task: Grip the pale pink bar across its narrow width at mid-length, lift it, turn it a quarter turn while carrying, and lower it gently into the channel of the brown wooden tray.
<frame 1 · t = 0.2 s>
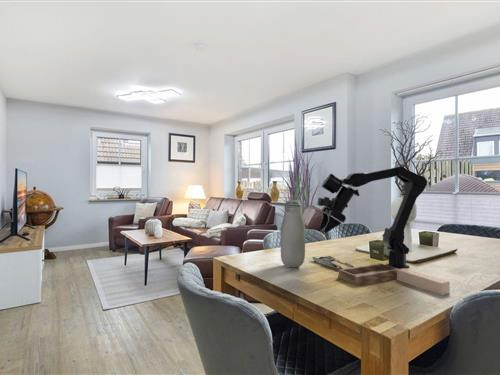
hand: (322, 230, 125), 15 cm above the table, tool tilted 30°, fingers open, 9 cm apart
pale pink bar: (421, 286, 100), on the table
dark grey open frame: (336, 267, 126), on the table
grey vase: (292, 267, 124), on the table
brown wooden tray: (369, 277, 109), on the table
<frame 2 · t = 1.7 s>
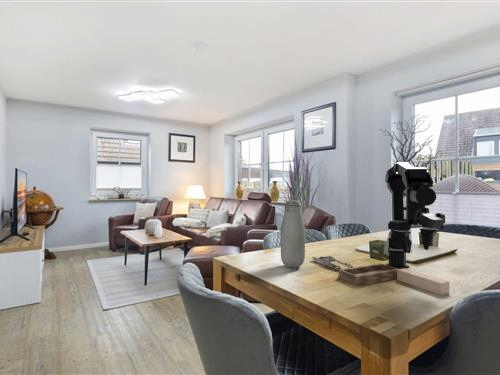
hand: (415, 250, 100), 12 cm above the table, tool pointing down, fingers open, 9 cm apart
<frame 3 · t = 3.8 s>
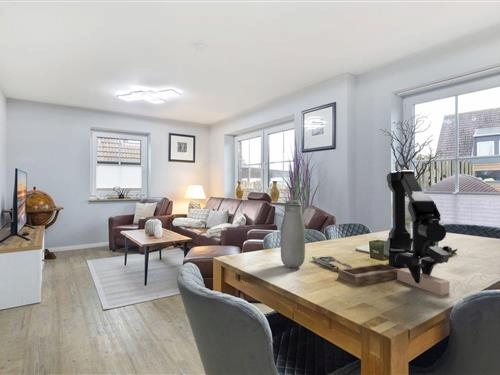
hand: (421, 282, 100), 1 cm above the table, tool pointing down, fingers closed on pale pink bar, 4 cm apart
pale pink bar: (421, 286, 100), on the table, touching gripper
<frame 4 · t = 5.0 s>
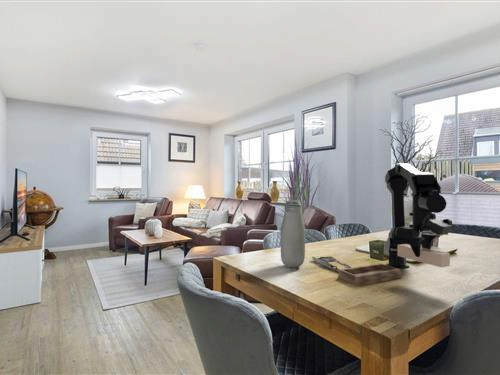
hand: (421, 256, 100), 10 cm above the table, tool pointing down, fingers closed on pale pink bar, 4 cm apart
pale pink bar: (421, 260, 100), point 9 cm above the table, touching gripper
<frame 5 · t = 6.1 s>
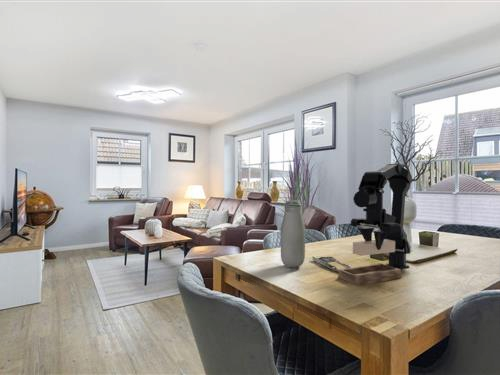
hand: (374, 248, 108), 11 cm above the table, tool pointing down, fingers closed on pale pink bar, 4 cm apart
pale pink bar: (374, 252, 108), point 10 cm above the table, touching gripper
when the fingers open (4 cm above the table, at t = 7.9 s): pale pink bar drops 1 cm, resting on brown wooden tray.
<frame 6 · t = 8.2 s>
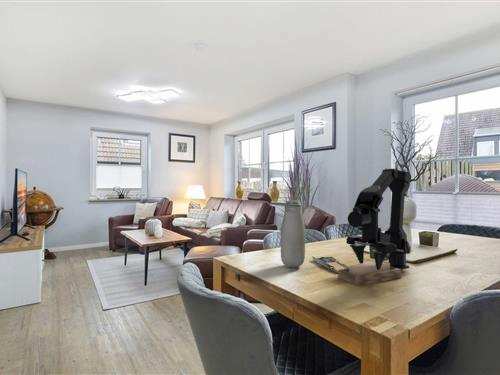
hand: (369, 266, 109), 4 cm above the table, tool pointing down, fingers open, 8 cm apart
pale pink bar: (369, 274, 109), point 1 cm above the table, touching brown wooden tray
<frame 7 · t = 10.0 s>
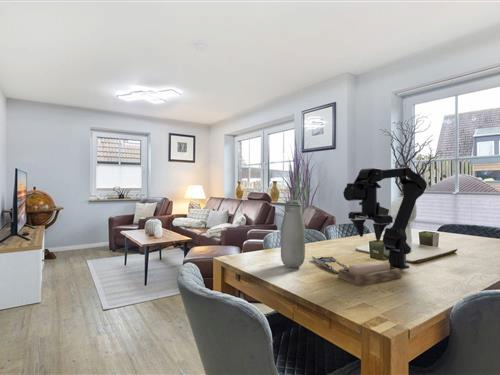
hand: (369, 238, 118), 13 cm above the table, tool pointing down, fingers open, 9 cm apart
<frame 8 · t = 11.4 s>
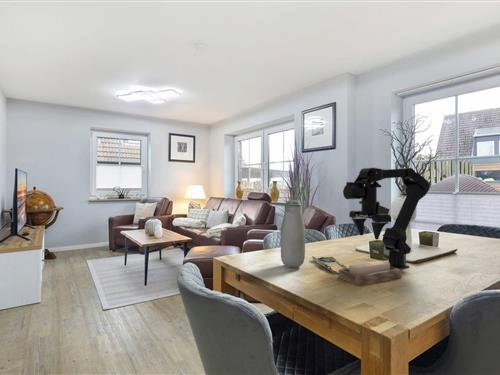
hand: (368, 237, 120), 13 cm above the table, tool pointing down, fingers open, 9 cm apart
at the end: pale pink bar 0.1 cm off-centre on the brown wooden tray, point 1.0 cm above the brown wooden tray's base; pale pink bar tilted 0°; the gripper is holding nothing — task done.
